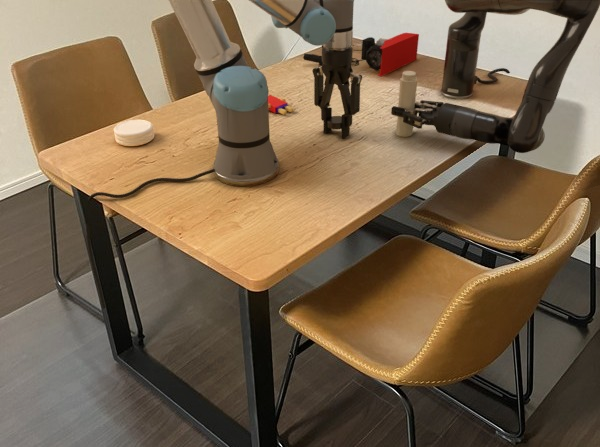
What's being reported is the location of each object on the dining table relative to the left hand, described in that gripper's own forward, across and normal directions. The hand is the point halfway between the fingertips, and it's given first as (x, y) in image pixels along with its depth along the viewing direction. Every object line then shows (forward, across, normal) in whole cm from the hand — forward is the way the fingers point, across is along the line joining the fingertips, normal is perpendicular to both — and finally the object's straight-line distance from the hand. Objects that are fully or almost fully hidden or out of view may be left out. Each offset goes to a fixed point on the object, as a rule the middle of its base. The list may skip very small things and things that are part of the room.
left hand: (336, 134), depth 163 cm
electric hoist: (0, -27, +54) cm, 60 cm away
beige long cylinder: (0, +14, +11) cm, 18 cm away
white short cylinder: (-1, -41, -33) cm, 53 cm away
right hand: (-7, +12, +11) cm, 17 cm away
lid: (-4, 0, 0) cm, 4 cm away
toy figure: (0, -25, +4) cm, 25 cm away
